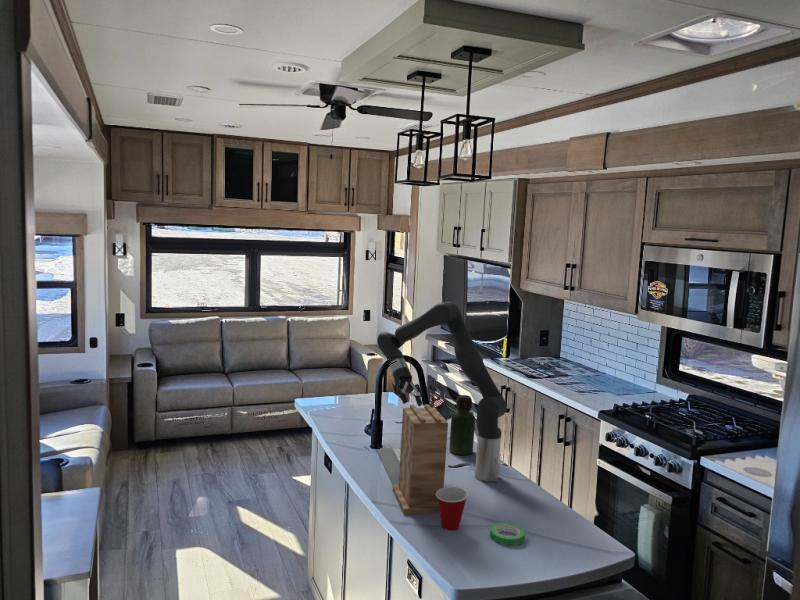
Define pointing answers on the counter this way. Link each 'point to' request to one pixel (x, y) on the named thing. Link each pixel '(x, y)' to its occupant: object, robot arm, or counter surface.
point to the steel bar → (396, 455)
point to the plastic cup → (451, 506)
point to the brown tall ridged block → (421, 460)
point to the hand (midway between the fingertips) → (413, 404)
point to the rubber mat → (389, 464)
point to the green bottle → (462, 427)
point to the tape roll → (507, 539)
